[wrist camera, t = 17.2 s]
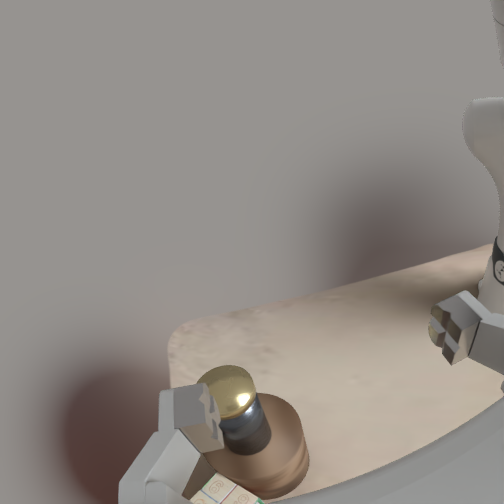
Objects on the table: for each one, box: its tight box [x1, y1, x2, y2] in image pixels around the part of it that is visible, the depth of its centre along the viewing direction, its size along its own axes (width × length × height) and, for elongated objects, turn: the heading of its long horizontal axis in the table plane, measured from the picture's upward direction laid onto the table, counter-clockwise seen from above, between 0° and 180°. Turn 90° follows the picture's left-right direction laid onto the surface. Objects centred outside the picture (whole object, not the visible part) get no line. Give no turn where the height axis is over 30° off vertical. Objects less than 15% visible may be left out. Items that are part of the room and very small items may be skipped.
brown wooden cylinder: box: [203, 393, 309, 500], centre depth 35 cm, size 12×12×10 cm
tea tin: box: [196, 365, 272, 456], centre depth 30 cm, size 6×6×10 cm
